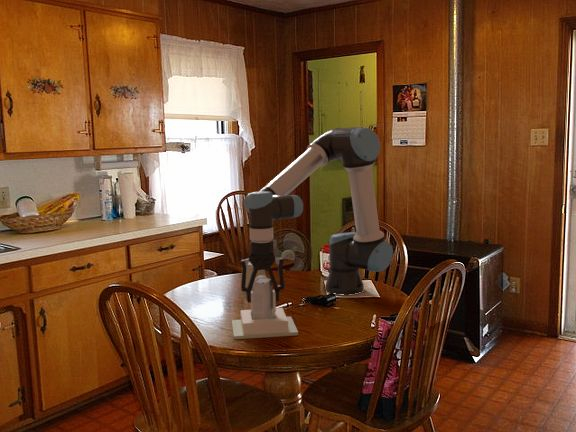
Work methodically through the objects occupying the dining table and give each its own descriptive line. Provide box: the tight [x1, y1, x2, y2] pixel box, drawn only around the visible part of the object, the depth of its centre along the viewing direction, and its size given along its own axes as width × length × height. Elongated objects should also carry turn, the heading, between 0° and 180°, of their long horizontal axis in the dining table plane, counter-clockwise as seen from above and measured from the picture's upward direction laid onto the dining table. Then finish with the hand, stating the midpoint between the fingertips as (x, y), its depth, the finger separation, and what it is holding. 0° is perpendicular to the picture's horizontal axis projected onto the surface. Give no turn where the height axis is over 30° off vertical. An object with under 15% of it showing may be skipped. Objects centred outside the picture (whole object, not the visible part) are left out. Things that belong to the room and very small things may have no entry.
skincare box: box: [253, 278, 273, 320], centre depth 188 cm, size 6×4×12 cm
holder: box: [231, 307, 299, 340], centre depth 189 cm, size 20×16×4 cm
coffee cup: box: [245, 262, 267, 291], centre depth 233 cm, size 9×9×12 cm
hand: (263, 311), depth 188 cm, fingers closed on skincare box, 6 cm apart
